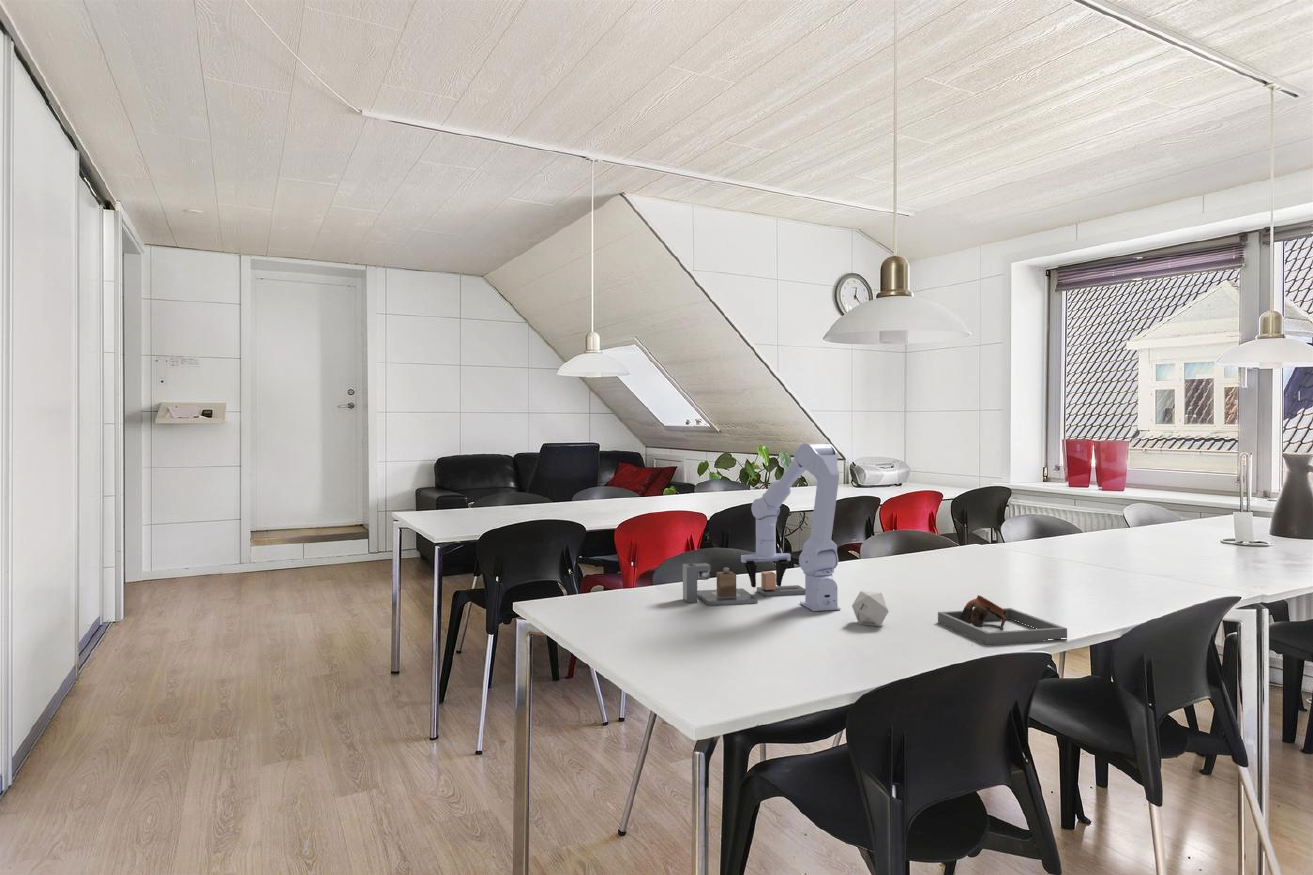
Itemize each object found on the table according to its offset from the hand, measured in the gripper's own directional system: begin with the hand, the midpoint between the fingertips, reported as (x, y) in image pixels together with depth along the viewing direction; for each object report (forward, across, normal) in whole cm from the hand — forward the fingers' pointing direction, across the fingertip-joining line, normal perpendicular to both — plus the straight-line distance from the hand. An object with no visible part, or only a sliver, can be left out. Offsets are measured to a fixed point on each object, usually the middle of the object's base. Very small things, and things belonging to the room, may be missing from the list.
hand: (766, 586), depth 222 cm
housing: (+1, +13, +4) cm, 14 cm away
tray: (+2, -41, +50) cm, 65 cm away
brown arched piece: (+2, -39, +46) cm, 60 cm away
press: (+2, +16, +4) cm, 16 cm away
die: (+2, -14, +38) cm, 40 cm away
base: (+2, -5, 0) cm, 5 cm away
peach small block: (+1, -1, 0) cm, 1 cm away
